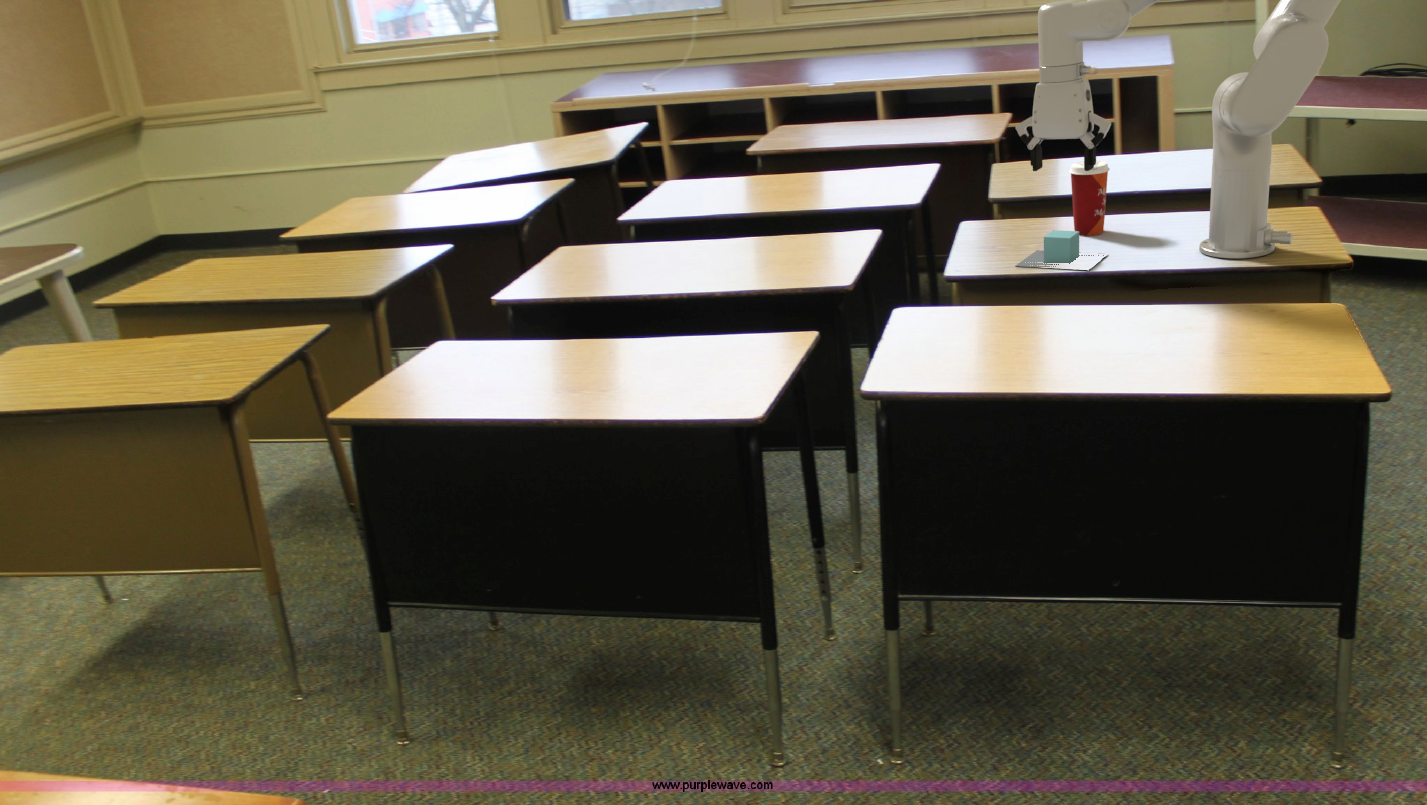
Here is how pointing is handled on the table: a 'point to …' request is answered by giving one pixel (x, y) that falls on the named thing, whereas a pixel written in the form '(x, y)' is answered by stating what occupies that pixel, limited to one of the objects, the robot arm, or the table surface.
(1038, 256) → the slate mat
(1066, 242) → the teal block
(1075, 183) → the paper cup
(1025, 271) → the table surface
